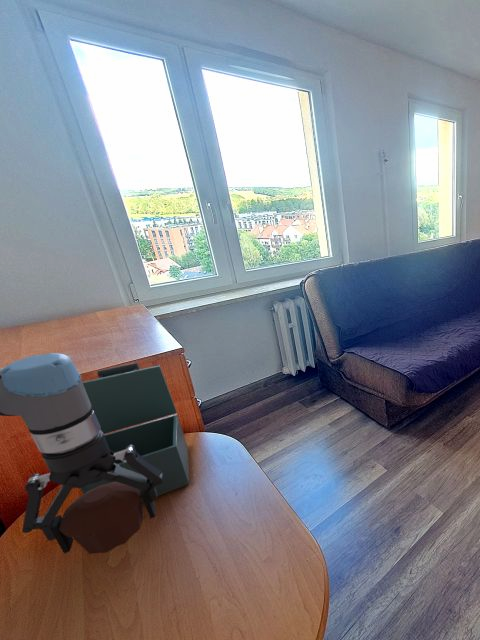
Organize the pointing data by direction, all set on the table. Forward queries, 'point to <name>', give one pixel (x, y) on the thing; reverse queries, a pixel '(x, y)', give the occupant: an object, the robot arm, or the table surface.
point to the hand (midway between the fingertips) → (113, 528)
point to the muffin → (104, 517)
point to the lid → (129, 396)
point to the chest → (154, 451)
